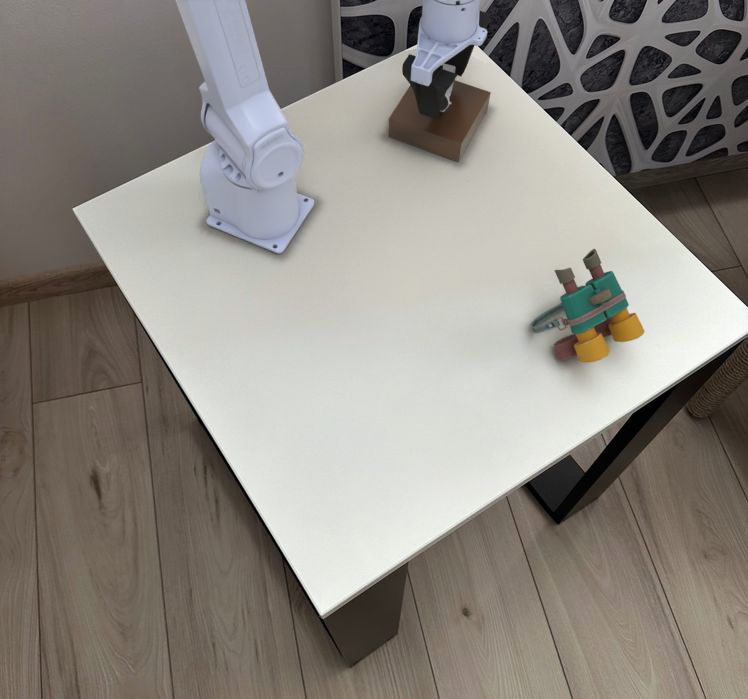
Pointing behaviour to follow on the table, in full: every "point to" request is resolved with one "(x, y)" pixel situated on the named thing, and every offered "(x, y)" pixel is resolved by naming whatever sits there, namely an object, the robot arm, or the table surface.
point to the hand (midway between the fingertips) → (441, 92)
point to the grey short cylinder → (448, 93)
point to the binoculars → (590, 314)
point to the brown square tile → (441, 121)
